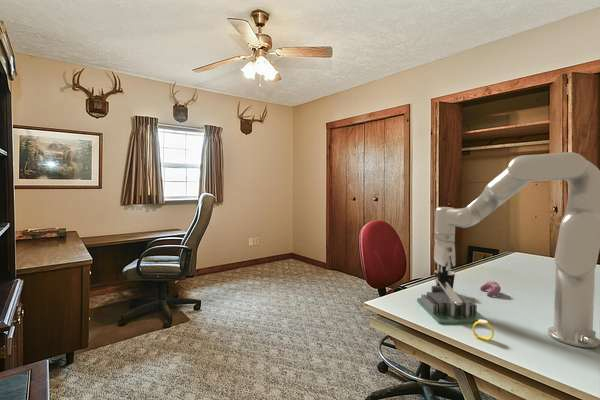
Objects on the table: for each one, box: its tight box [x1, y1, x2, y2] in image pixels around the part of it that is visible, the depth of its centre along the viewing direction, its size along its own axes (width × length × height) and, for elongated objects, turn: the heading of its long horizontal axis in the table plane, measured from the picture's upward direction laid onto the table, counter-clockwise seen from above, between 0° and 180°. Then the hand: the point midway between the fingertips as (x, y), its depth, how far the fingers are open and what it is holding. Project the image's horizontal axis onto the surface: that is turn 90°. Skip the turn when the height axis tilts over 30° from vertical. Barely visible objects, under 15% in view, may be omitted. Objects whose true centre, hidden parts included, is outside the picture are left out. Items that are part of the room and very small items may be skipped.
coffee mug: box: [434, 269, 456, 292], centre depth 144 cm, size 12×9×10 cm
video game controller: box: [480, 280, 502, 298], centre depth 145 cm, size 10×5×7 cm, turn 169°
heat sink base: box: [416, 285, 487, 325], centre depth 124 cm, size 22×17×7 cm
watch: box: [471, 319, 495, 341], centre depth 102 cm, size 6×3×6 cm, turn 55°
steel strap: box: [435, 277, 464, 306], centre depth 124 cm, size 18×3×1 cm, turn 179°
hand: (442, 281), depth 128 cm, fingers closed
